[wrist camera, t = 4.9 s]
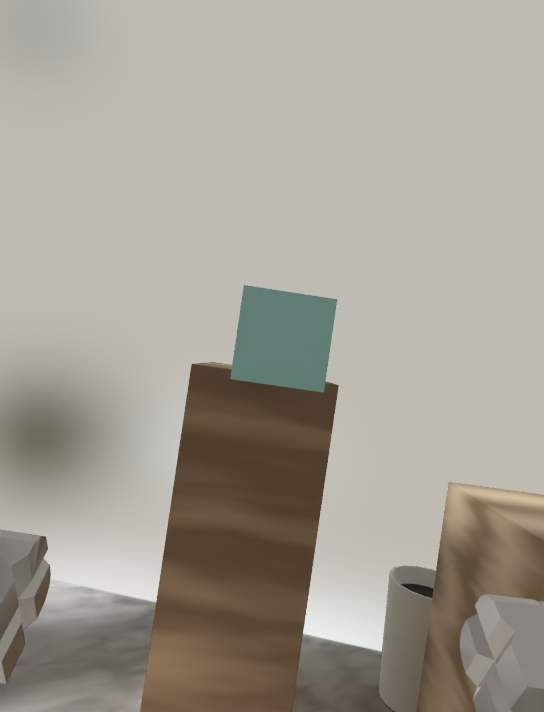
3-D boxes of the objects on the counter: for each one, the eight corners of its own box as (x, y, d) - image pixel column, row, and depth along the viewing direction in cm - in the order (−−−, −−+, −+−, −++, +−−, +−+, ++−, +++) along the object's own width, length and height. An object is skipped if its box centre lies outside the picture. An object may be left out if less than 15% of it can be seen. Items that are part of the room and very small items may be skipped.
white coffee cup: (467, 733, 39) (484, 606, 39) (384, 722, 39) (402, 595, 39) (436, 678, 46) (451, 570, 46) (365, 669, 46) (381, 561, 46)
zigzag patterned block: (632, 976, 24) (687, 562, 24) (491, 962, 23) (549, 544, 24) (504, 769, 36) (542, 494, 36) (409, 758, 35) (448, 481, 36)
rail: (323, 392, 16) (337, 299, 16) (230, 379, 16) (244, 285, 16) (277, 371, 42) (282, 336, 42) (242, 366, 42) (247, 331, 42)
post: (269, 865, 27) (338, 385, 27) (119, 850, 26) (191, 364, 26) (262, 682, 41) (306, 375, 42) (167, 671, 41) (212, 362, 41)
